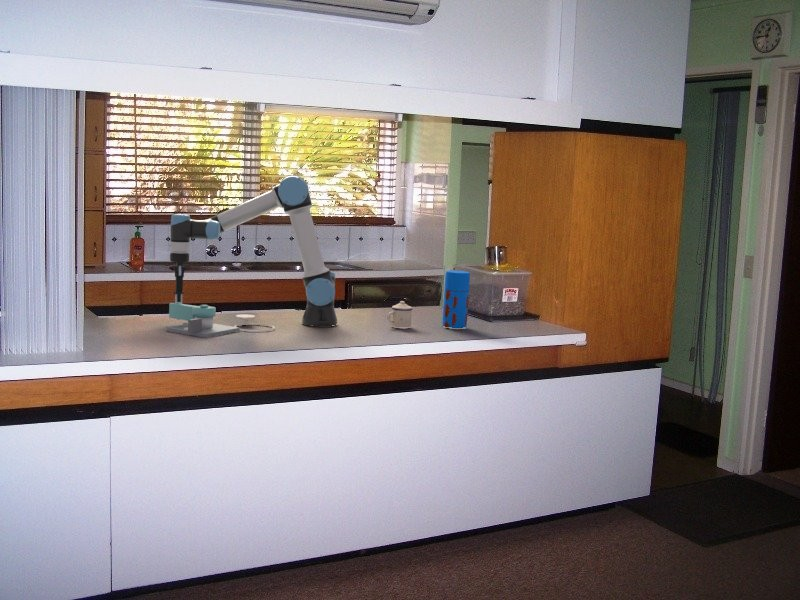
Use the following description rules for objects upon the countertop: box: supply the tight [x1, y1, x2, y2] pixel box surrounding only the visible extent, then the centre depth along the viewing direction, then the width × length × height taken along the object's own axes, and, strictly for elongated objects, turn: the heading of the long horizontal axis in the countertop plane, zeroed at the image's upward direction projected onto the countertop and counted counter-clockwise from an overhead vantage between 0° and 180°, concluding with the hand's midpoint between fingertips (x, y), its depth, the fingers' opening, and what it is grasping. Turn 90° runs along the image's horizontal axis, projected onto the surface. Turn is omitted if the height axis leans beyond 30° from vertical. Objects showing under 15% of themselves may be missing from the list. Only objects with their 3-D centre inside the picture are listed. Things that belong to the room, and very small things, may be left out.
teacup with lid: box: [386, 300, 413, 327], centre depth 373 cm, size 12×9×12 cm
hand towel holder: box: [233, 313, 276, 333], centre depth 353 cm, size 17×4×21 cm
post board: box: [166, 316, 241, 339], centre depth 338 cm, size 20×23×6 cm
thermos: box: [442, 270, 471, 328], centre depth 380 cm, size 11×11×25 cm
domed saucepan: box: [168, 302, 217, 322], centre depth 342 cm, size 22×9×7 cm, turn 62°
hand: (178, 309), depth 352 cm, fingers closed
